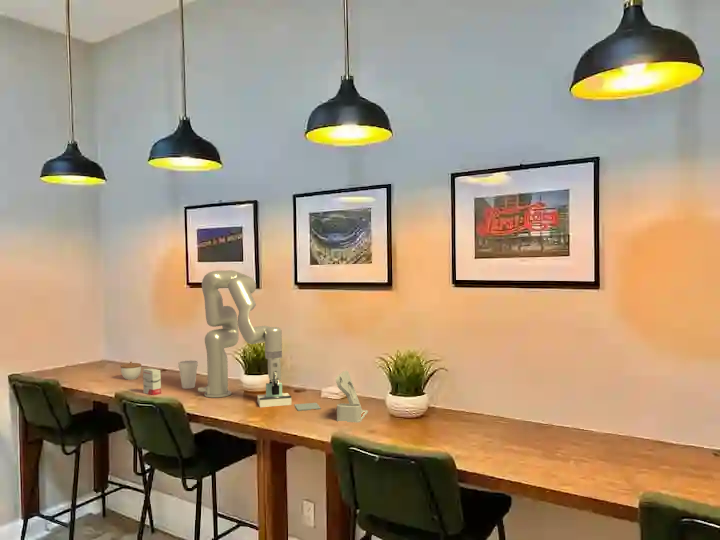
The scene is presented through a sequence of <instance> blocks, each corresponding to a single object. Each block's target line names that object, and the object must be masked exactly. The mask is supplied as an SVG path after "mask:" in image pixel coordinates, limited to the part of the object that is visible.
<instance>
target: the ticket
mask: <svg viewBox="0 0 720 540" xmlns="http://www.w3.org/2000/svg"><path fill="white" fill-rule="evenodd" d="M282 393H283V383H282V382H279V395H272V383H269V382H268V383H265V395H266V397H279V396H282Z"/></svg>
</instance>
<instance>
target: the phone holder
mask: <svg viewBox="0 0 720 540" xmlns="http://www.w3.org/2000/svg"><path fill="white" fill-rule="evenodd" d="M335 383H336V385H337V388H338V390H339V391H341V392H342V394H344V395H345V397H346V398H347V402H348V403H341V402H340V403H337V404H336V422H338V421H347V422H346V423H361V422H362V421H363V420H362V419H364V418H365V417H366V416H367V414H368V413H369V410H368V409H363V408H362V405H361V403H360V400H359V398H358V395H357V391H356V389H355V386H354V384H353V380H352V378H351V375H350V373H349V370H347V369H346V370H344V371H342V372H341V373H339V374H338V375H337V376H336V377H335ZM363 412H365V413H364V414H363V416H362V417H361V414H362V413H363ZM365 415H366V416H365Z"/></svg>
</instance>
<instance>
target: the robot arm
mask: <svg viewBox="0 0 720 540" xmlns="http://www.w3.org/2000/svg"><path fill="white" fill-rule="evenodd" d="M201 289H202V293H203V300H204V310H205V320H206V323H207V324H206V325H208V326H210V327H213V328H215V327H216V329H213V330H210V331H208V332H207V333H206V334H205V337H204V345H205V349H206V361H207V367H206V368H207V370H206V371H207V373H206V374H207V384H206V386H204V387H197V392H199V393H204V396H205V397H206V398H213V399H216V398H225V397H228V396H229V397H230V396H231V395H232V391H231V390H229V378H228V377H229V376H228V371H229V368H228V365H229V364H228V362H229V361H228V355H227V352H226V351H225V349H226V348H231V347H234V346H236V345H237V344H238V343H239V338H240V337H239V332H240V335H241V336H242V338H243V340H244V342H246V343H247V344H249V345H255V344H260V343H264V356H265V357H264V358H265V359H266V360H267V376H268V380H269V381H268V383H272V395H279V383H280V382H279V381H281V380H282V367H281V366H282V365H281V359H282V358H283V347H282V345H283V343H282V342H283V339H282V338H283V335H282V328H281V327H277V326H269V325H259V326H253V324H252V322H251V320H250V313H251V311H253V310H254V309H255V308H256V306H257V303H256V301H255V299H254V297H253V295H252V294H253V293H255V291H256V290H257V283H256V281H255V279H254V278H253V277H251V276H250V275H247V274H244V273H242V272H239V271H236V270H232V269H231V270H212V271H209V272H208V273H206V274H205V275H204V276H203V278H202V281H201ZM219 289H228V291H229V293H230V295H231V298H232V300H233V301H234V304H235V307H236V308H237V311H238V314H237V312H236V310H235V308H233V307H232V306H230V305H224V302H223V299H224V298H223V296H222V294H221V292H220V290H219ZM217 327H221V328H217Z"/></svg>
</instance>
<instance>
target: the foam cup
mask: <svg viewBox="0 0 720 540" xmlns="http://www.w3.org/2000/svg"><path fill="white" fill-rule="evenodd" d="M198 366H199V365H198V360H193V359H192V360H191V359H190V360H182V361H178V371H179V375H180V376H179V377H180V383H181V388H182V389H193V388H195V387H196V379H197V372H198V371H197V370H198Z"/></svg>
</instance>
